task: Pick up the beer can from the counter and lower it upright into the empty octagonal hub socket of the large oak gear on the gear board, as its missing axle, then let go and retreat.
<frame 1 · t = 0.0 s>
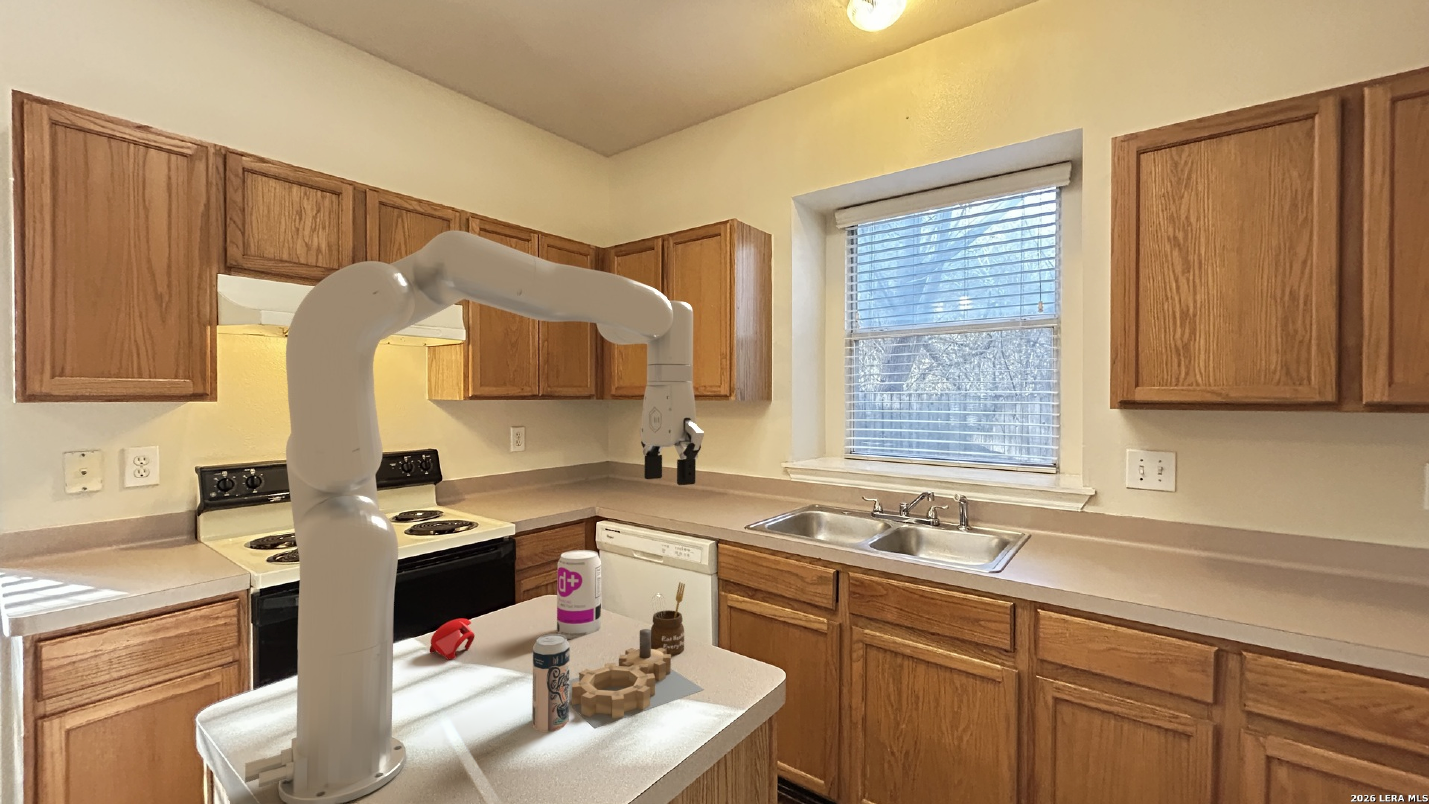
hand: (669, 481, 98), 31 cm above the countertop, fingers open, 9 cm apart
small gear: (644, 672, 95), resting on gear board
beer can: (550, 730, 80), on the countertop
utensil holder: (667, 656, 104), on the countertop
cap: (452, 655, 104), on the countertop
supplement can: (578, 633, 114), on the countertop
gear board: (626, 694, 90), on the countertop
oak gear: (613, 697, 87), resting on gear board
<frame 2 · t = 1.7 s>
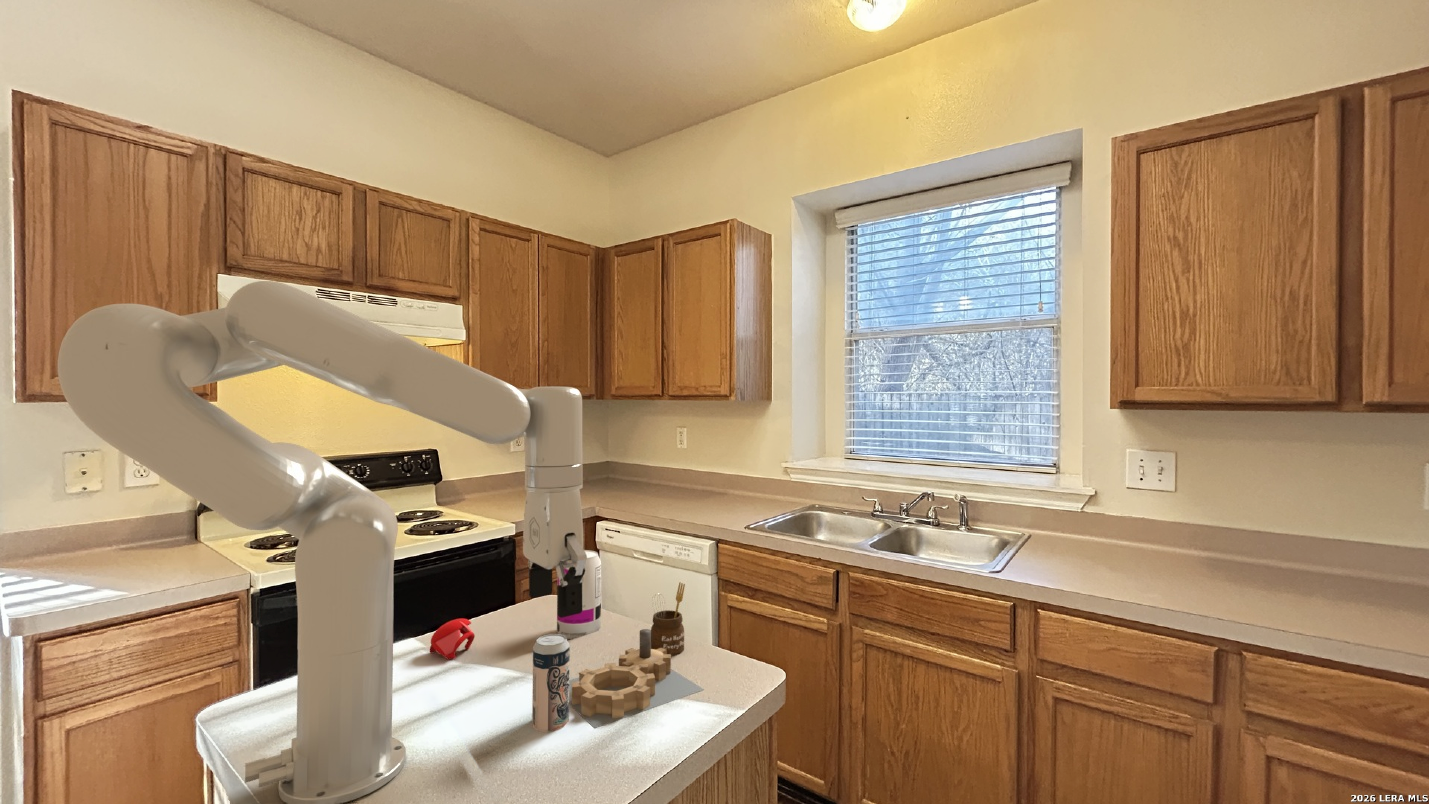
hand: (554, 605, 80), 17 cm above the countertop, fingers open, 9 cm apart
nothing on the countertop moved.
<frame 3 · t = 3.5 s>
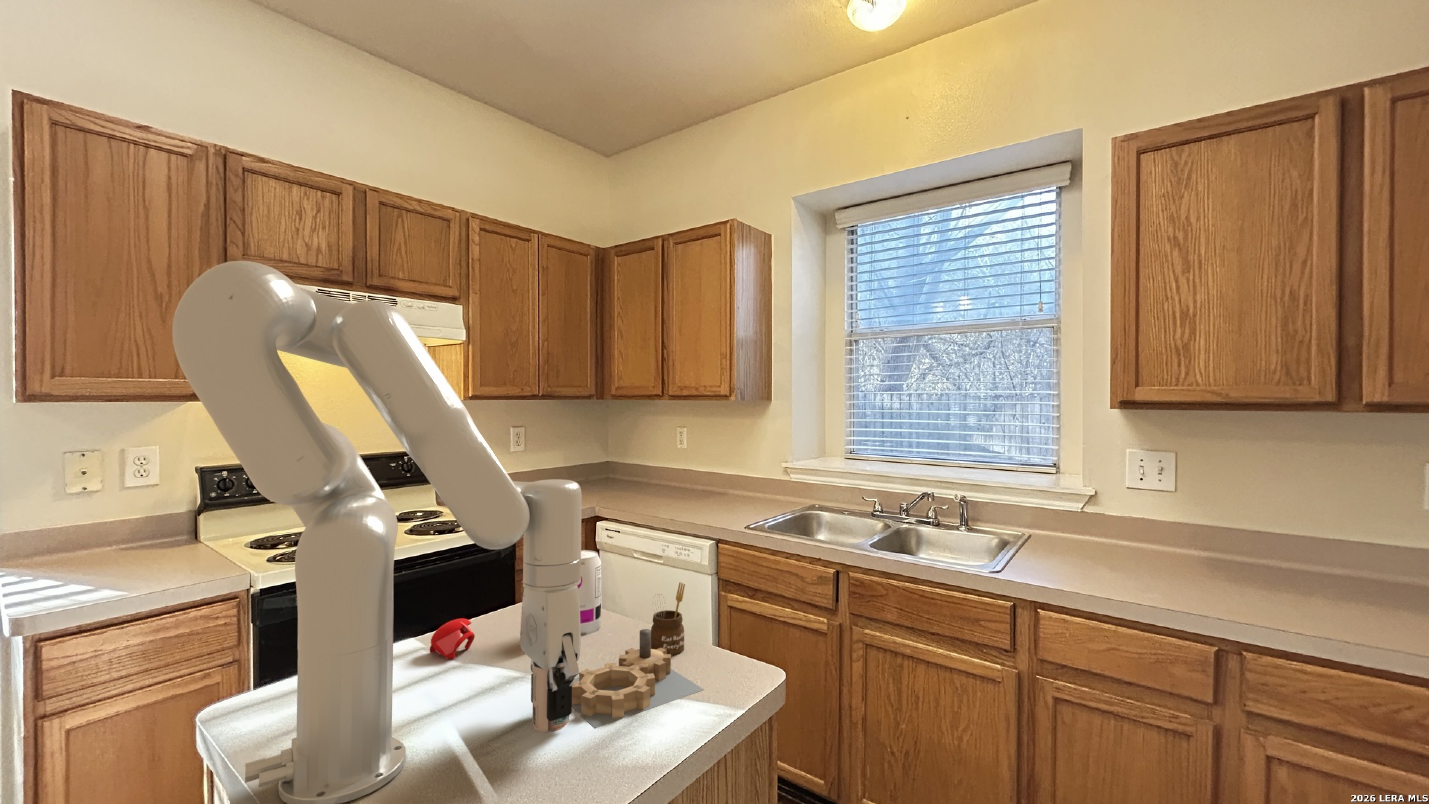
hand: (551, 707, 80), 3 cm above the countertop, fingers closed on beer can, 4 cm apart
beer can: (550, 730, 80), on the countertop, touching gripper
everything else where it was.
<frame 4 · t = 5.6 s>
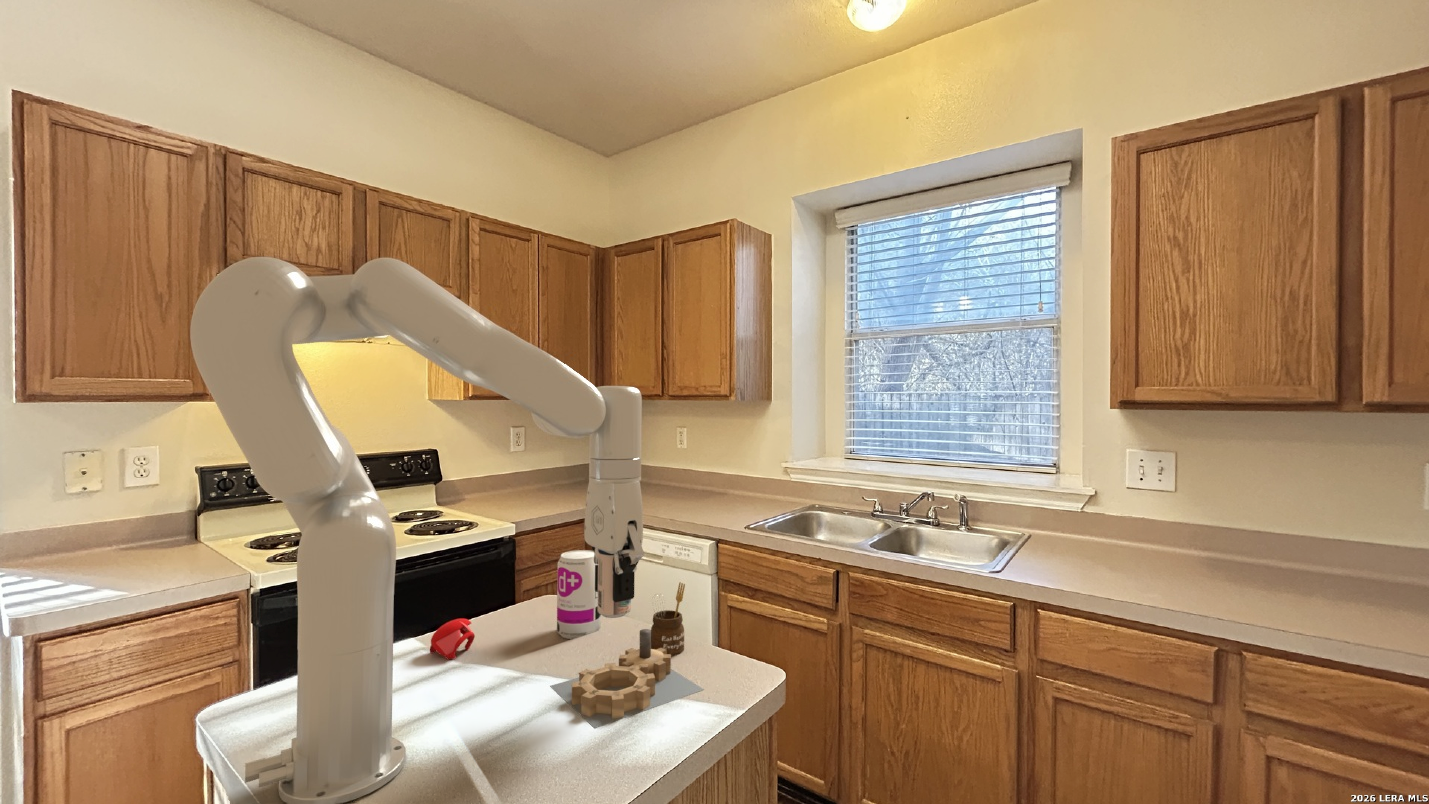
hand: (614, 593, 87), 16 cm above the countertop, fingers closed on beer can, 4 cm apart
beer can: (614, 615, 87), point 13 cm above the countertop, touching gripper
everything else where it was.
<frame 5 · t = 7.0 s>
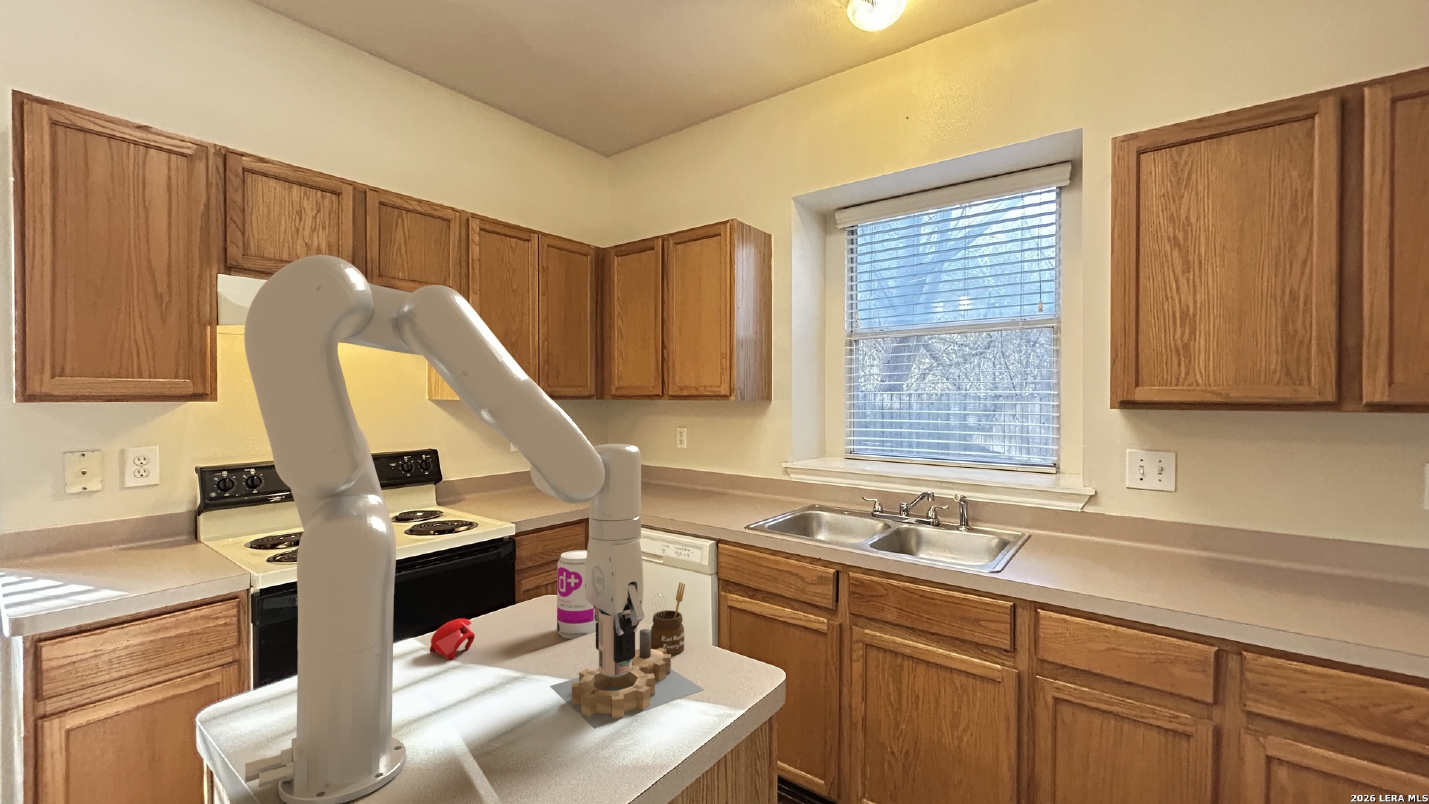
hand: (615, 652, 87), 7 cm above the countertop, fingers closed on beer can, 4 cm apart
beer can: (615, 673, 87), point 4 cm above the countertop, touching gripper
everything else where it was.
when the fingers open (5 cm above the countertop, at t = 7.9 s): beer can stays where it is, resting on gear board.
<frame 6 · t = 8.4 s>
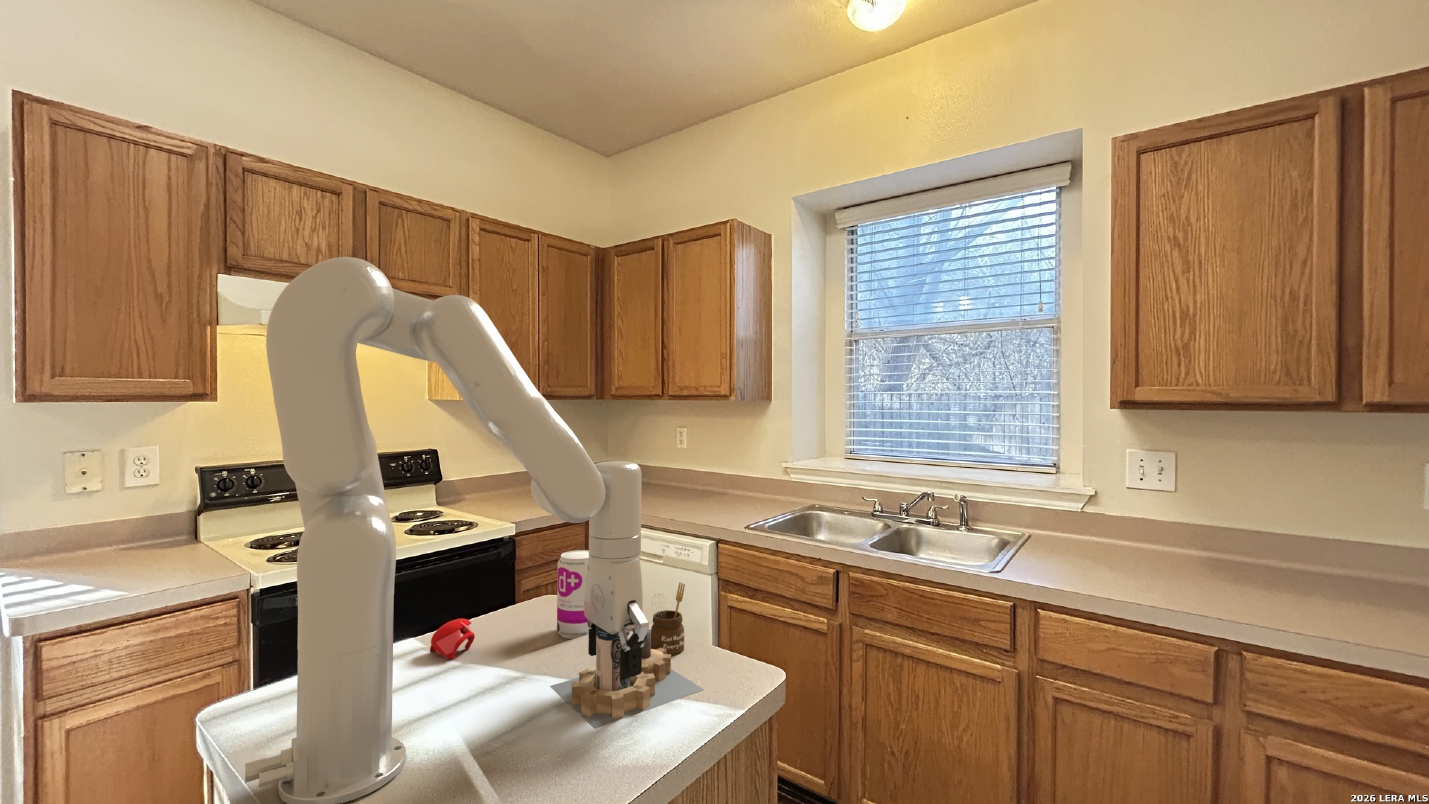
hand: (614, 664, 87), 6 cm above the countertop, fingers open, 9 cm apart
beer can: (612, 698, 87), point 1 cm above the countertop, touching gear board
everything else where it was.
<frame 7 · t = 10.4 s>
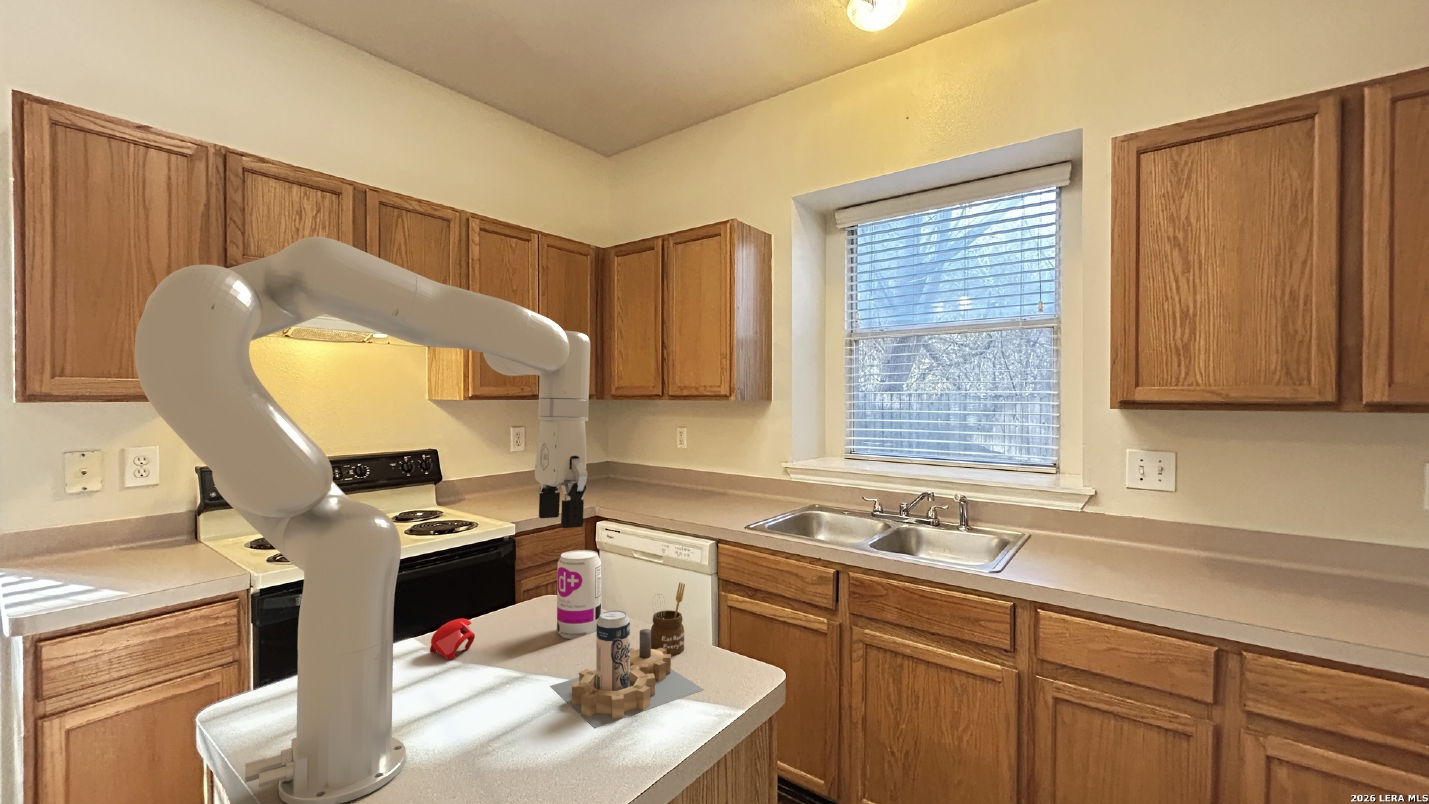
hand: (559, 522, 92), 26 cm above the countertop, fingers open, 9 cm apart
nothing on the countertop moved.
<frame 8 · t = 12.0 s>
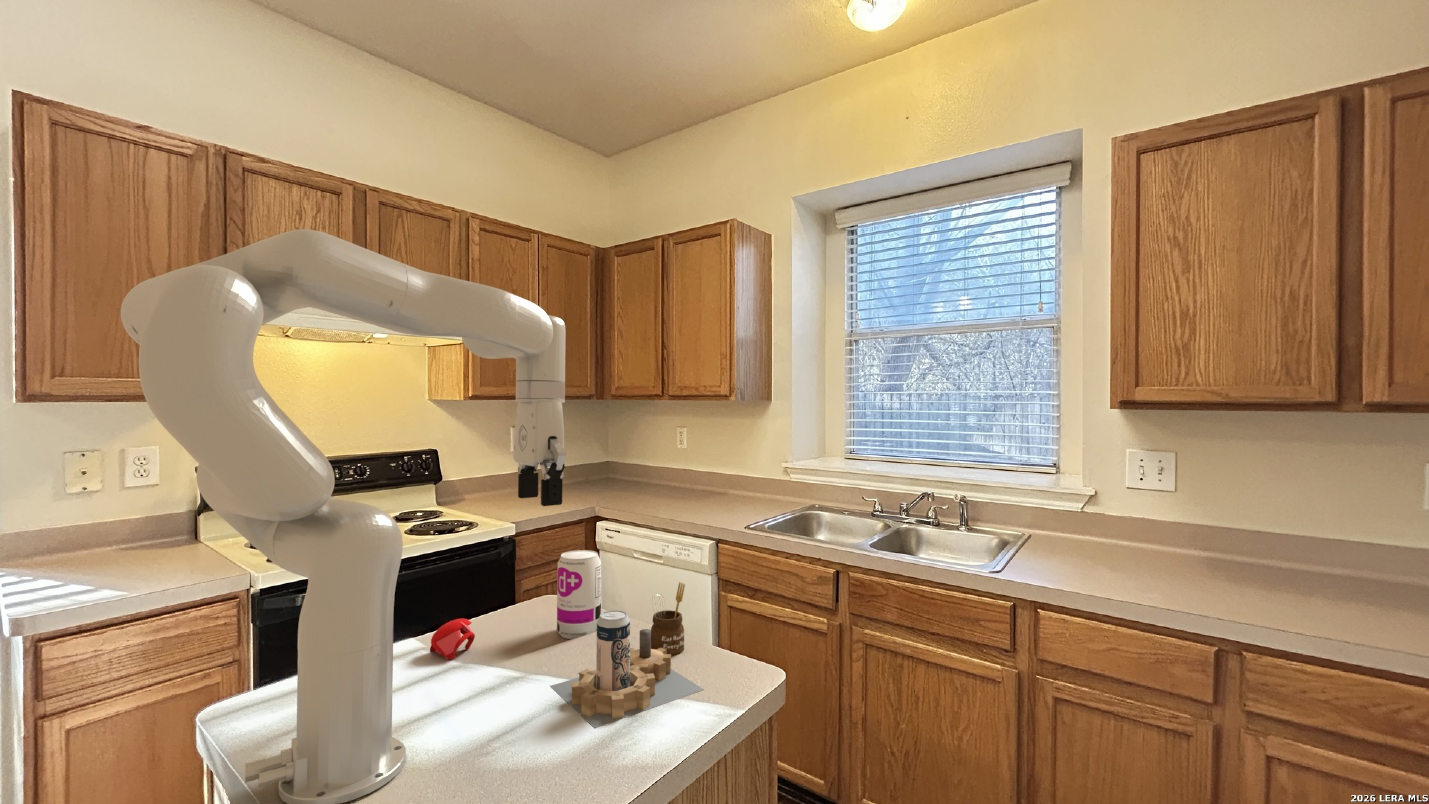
hand: (539, 501, 94), 28 cm above the countertop, fingers open, 9 cm apart
nothing on the countertop moved.
at the end: beer can 0.2 cm off-centre on the oak gear, point 0.0 cm above the oak gear's base; beer can tilted 0°; the gripper is holding nothing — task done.
